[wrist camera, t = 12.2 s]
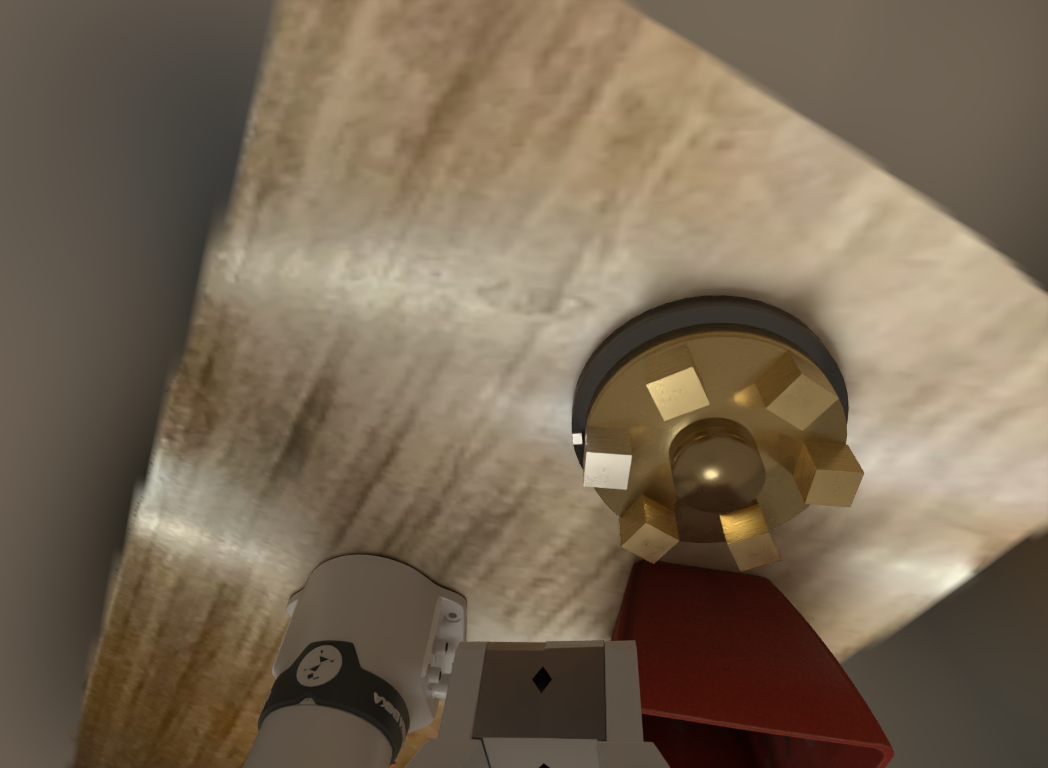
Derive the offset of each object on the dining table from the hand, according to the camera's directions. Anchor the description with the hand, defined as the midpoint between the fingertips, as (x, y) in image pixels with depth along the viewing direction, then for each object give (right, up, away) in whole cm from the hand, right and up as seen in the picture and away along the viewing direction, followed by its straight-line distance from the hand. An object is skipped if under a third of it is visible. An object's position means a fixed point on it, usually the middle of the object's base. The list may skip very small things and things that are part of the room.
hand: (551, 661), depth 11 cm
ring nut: (+13, +1, +36) cm, 38 cm away
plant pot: (+15, -17, +50) cm, 55 cm away
